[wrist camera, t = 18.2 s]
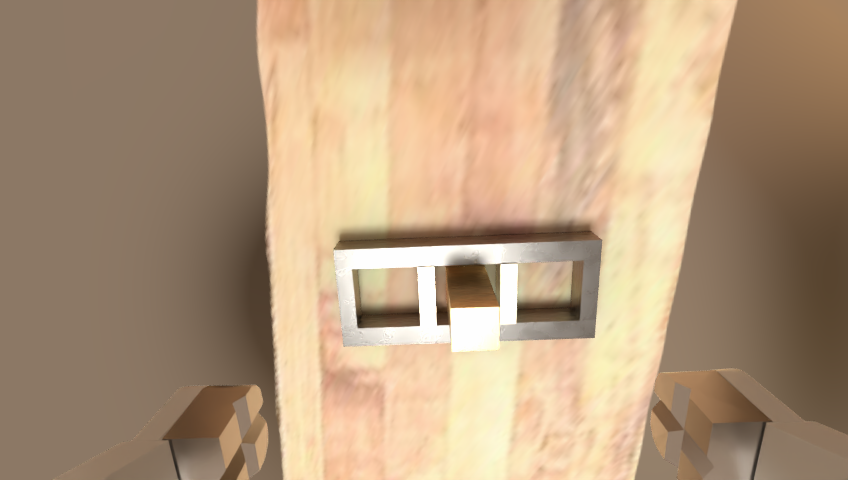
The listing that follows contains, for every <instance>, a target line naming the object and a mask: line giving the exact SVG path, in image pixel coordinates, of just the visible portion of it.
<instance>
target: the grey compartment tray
mask: <svg viewBox="0 0 848 480" xmlns="http://www.w3.org/2000/svg"><path fill="white" fill-rule="evenodd" d="M601 249H602V239H600V238H599V237H598V236H596V235H595V234H594V233H592V232H591V231H588V232H562V233H536V234H510V235H485V236H459V237H433V238H407V239H382V240H356V241H339V242H338V244H337V245H336V247H335V248H334V250H333V252H334V261H335V271H336V280H337V289H338V299H339V308H340V317H341V327H342V336H343V345H344V346H373V345H401V344H430V343H451V339H450V329H449V320H448V312H436V299H435V273H434V266H451V265H477V264H496V299H497V301H498V304H499V341H517V340H546V339H574V338H595V325H596V312H597V300H598V287H599V274H600V262H601ZM557 261H573V273H572V290H571V307H570V308H543V309H517V268H518V264H517V263H530V262H557ZM397 267H418V284H419V304H420V313H404V314H376V315H362V313H361V302H360V291H359V280H358V269H371V268H397Z"/></svg>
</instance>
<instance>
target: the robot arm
mask: <svg viewBox="0 0 848 480" xmlns="http://www.w3.org/2000/svg"><path fill="white" fill-rule="evenodd" d="M654 391H655V393H656V394H657V396H658V397H659V398H660V401H659V402H658V403H657V404H656V405H655V406H654V407H653V409H652V411H651V422H650V425H651V430H652V436H653V439H654V442H655V444H656V446H657V449H658V451H659V452H660V454H661V455H662V457H663V458H664V459H665V460H666V461H668V462H669V463H671V464H673V465H674V466H676V467H677V468H678V474H677V479H678V480H848V435H846V434H844V433H841V432H839V431H836V430H834V429H832V428H829V427H827V426H824V425H822V424H819V423H817V422H814V421H804V420H803V419H802V418H800V417H799V416H798V415H797V414H795V413H794V412H793V411H792V410H791V409H789V408H788V407H787V406H786V405H784V404H783V403H782V402H781V401H780V400H778V399H777V398H776V397H775V396H773V395H772V394H771V393H770V392H769V391H767V390H766V389H765V388H764V387H762V386H761V385H760V384H759V383H758V382H756V381H755V380H754V379H753V378H752V377H750V376H749V375H748V374H747V373H745V372H744V371H741V370H739V369H736V368H733V369H717V370H709V371H691V372H690V371H688V372H667V373H659V374H658V376H657V378H656V380H655V387H654ZM262 404H263V399H262V395H261V390H260V388H259V387H258V386H257V385H209V386H206V385H202V386H184V387H181V388H179V389H178V390H177V391H176V392H175V393H174V394H173V395H172V397H171V398H170V399H169V400H168V401H167V402H166V403H165V404H164V405H163V407H162V408H161V409H160V410H159V411H158V412H157V413H156V414H155V415H154V417H153V418H152V419H151V420H150V421H149V422H148V423H147V425H146V426H145V427H144V428H143V429H142V430H141V431H140V432H139V433H138V435H137V436H136V437H135V438H134V439H133V440H132V441H124V442H121V443H119V444H118V445H116V446H114V447H112V448H110V449H108V450H106V451H105V452H103V453H101V454H99V455H97V456H95V457H94V458H91V459H90V460H88V461H86V462H84V463H82V464H80V465H78V466H77V467H75V468H73V469H71V470H69V471H67V472H65V473H64V474H62V475H60V476H58V477H56V478H54V479H52V480H249V479H250V478H251V477H252V476H253V475H255V474H256V473H257V472H258V471H260V469H261V466H262V464H263V462H264V460H265V455H266V450H267V446H268V428H267V422H266V420H265V419H264V418H263V417H262V416H261V415H260V414H259V413H258V411H259V410H260V408H261V406H262Z"/></svg>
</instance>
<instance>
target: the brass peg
mask: <svg viewBox="0 0 848 480" xmlns="http://www.w3.org/2000/svg"><path fill="white" fill-rule="evenodd" d="M446 300H447V311H448V320H449V329H450V339H451V348H452V352H454V351H482V350H499V304H498V301H497V299H496V296H495V293H494V291H493V288H492V285H491V283H490V280H489V277H488V274H487V272H486V269H485V266H484V265H469V266H446Z"/></svg>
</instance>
